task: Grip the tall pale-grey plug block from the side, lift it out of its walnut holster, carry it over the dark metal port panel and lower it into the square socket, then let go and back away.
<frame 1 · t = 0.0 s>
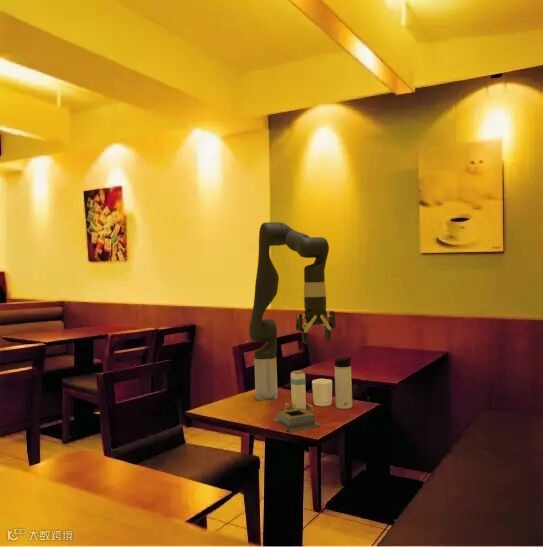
hand: (316, 342, 191), 29 cm above the table, tool pointing down, fingers open, 8 cm apart
plug: (299, 409, 210), point 1 cm above the table, touching holster
holster: (299, 412, 210), on the table
travel mug: (344, 409, 213), on the table
port: (295, 424, 195), on the table
white cup: (322, 406, 218), on the table
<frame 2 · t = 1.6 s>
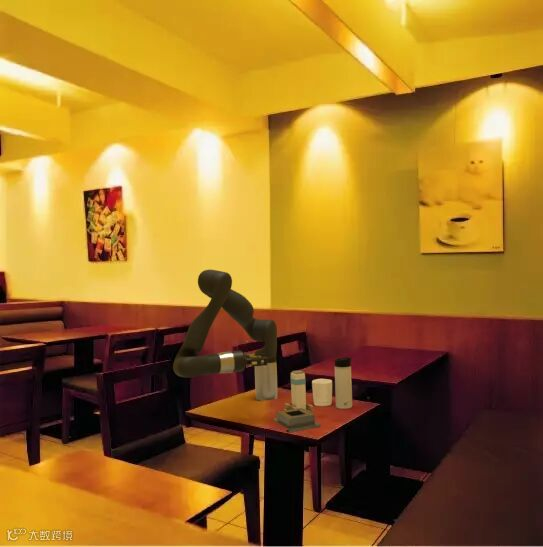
hand: (270, 357, 205), 22 cm above the table, tool horizontal, fingers open, 8 cm apart
nothing on the table moved.
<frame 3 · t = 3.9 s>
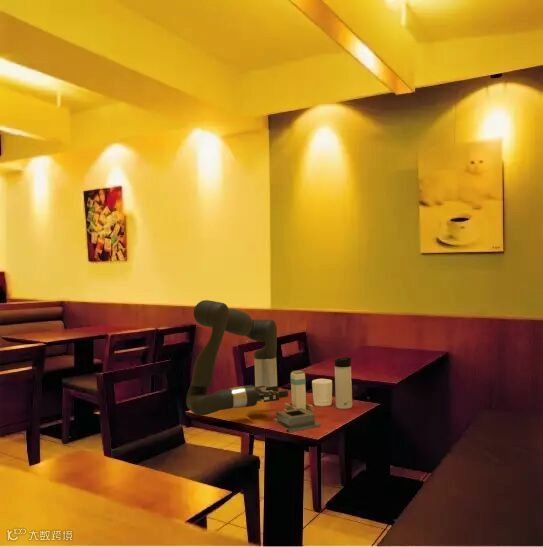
hand: (282, 391, 207), 9 cm above the table, tool horizontal, fingers open, 8 cm apart
nothing on the table moved.
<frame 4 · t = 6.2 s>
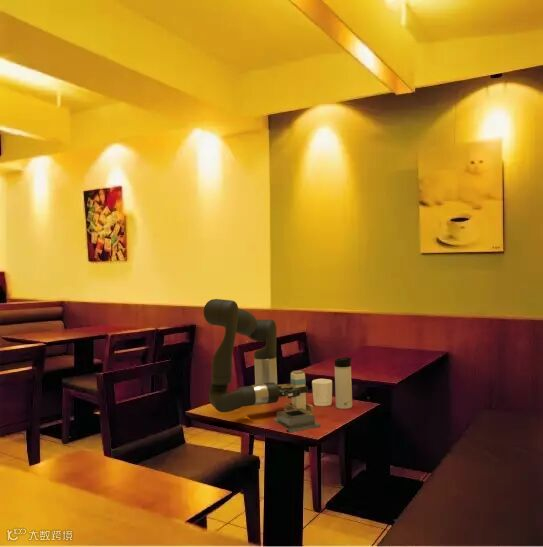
hand: (304, 387, 211), 9 cm above the table, tool horizontal, fingers closed on plug, 4 cm apart
plug: (299, 409, 210), point 1 cm above the table, touching gripper, holster
everything else where it was.
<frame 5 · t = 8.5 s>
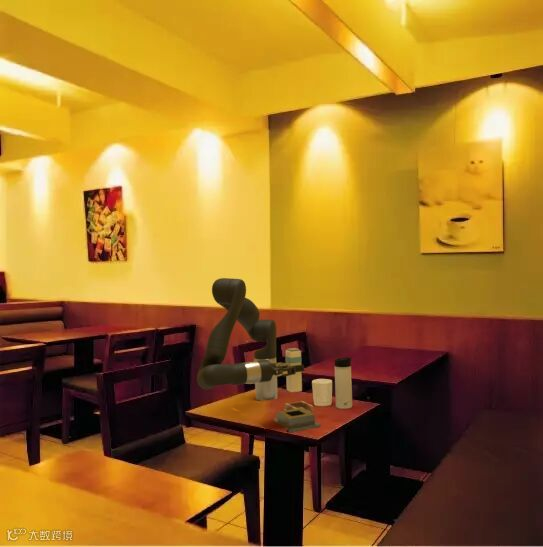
hand: (300, 366, 196), 20 cm above the table, tool horizontal, fingers closed on plug, 4 cm apart
plug: (294, 390, 195), point 12 cm above the table, touching gripper
everything else where it was.
when the fingers open (10 cm above the table, at t = 11.2 s): plug drops 1 cm, resting on port.
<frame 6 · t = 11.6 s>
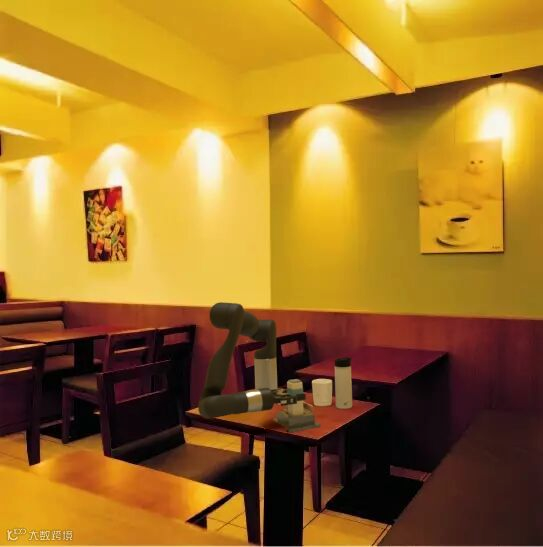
hand: (299, 394, 196), 11 cm above the table, tool horizontal, fingers open, 7 cm apart
plug: (295, 421, 195), point 1 cm above the table, touching port
everything else where it was.
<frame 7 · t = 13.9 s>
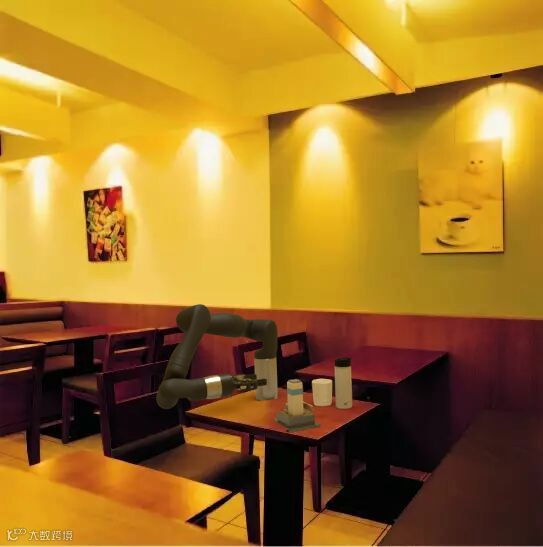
hand: (261, 379, 192), 17 cm above the table, tool horizontal, fingers open, 8 cm apart
nothing on the table moved.
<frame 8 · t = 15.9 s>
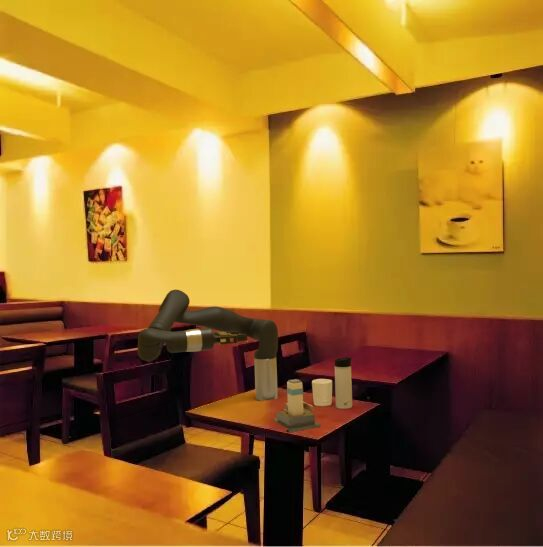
hand: (242, 335, 194), 32 cm above the table, tool horizontal, fingers open, 8 cm apart
nothing on the table moved.
at the end: plug 0.2 cm off-centre on the port, point 1.0 cm above the port's base; plug tilted 0°; the gripper is holding nothing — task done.
